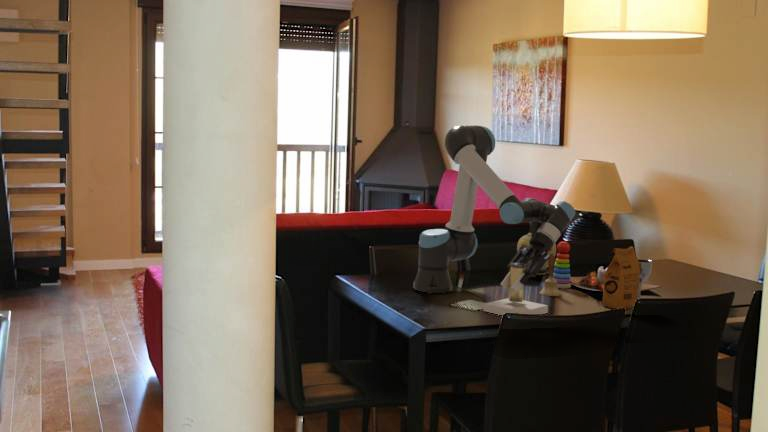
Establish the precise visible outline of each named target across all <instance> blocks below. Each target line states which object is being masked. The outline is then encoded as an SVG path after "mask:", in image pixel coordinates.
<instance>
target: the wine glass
mask: <svg viewBox="0 0 768 432" xmlns="http://www.w3.org/2000/svg"><path fill="white" fill-rule="evenodd" d="M637 259H638V262H639V270H640V277H639V293H638V298H644V297H643V296H642V295H641V292H642V291H641V290H642V285H643V283H644V282H645V281H646V280H648V279H649V277H650V275H651V273H652V268H653V260H650V259H646V258H637Z"/></svg>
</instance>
